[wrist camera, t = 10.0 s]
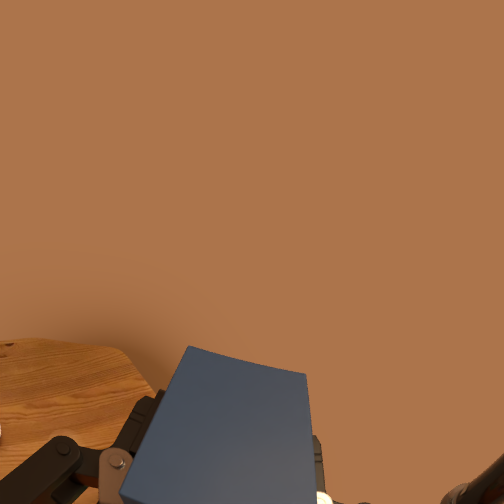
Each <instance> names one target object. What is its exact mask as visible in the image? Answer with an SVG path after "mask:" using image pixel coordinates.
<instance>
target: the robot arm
mask: <svg viewBox="0 0 504 504" xmlns="http://www.w3.org/2000/svg"><path fill="white" fill-rule="evenodd" d="M165 392H166V391H164V390H161V389H160V390H159V391H158V393H157V395H156V397H155V399H154V398H151V397H148V396H144V397H143V398H142V399H140V400H139V401H137V403H136V405H135V406H134V408H133V410H132V412H131V413H130V415H129V417H128V419H127V421H126V422H125V424H124V426H123V428H122V430H121V431H120V433H119V435H118V437H117V439H116V440H115V442H114V444H113V445H112V446H110V447H109V448H107V449H103V450H95V449H90V448H86V447H81V446H78V444H77V443H76V442H75V441H74V440H73V439H71V438H69V437H67V436H56V437H54V438H52V439H51V440H50V441H49V442H48V443H46V444H45V445H44V446H43V447H41V448H40V449H39V450H38V451H37V452H35V453H34V454H33V455H32V456H30V457H29V458H28V459H27V460H25V461H24V462H23V463H22V464H21V465H19V466H18V467H17V468H16V469H14V470H13V471H12V472H11V473H9V474H8V475H7V476H6V477H4V478H3V479H2V480H1V481H0V504H72V503H73V502H74V501H75V500H76V499H77V498H78V497H79V496H80V495H81V494H82V493H83V492H84V491H85V490H86V489H87V488H88V487H93V488H98V489H99V501H98V503H97V504H124V503H123V501H122V499H121V497H120V496H119V494H118V492H119V489H120V487H121V485H122V483H123V481H124V478H125V476H126V474H127V472H128V470H129V468H130V465H131V463H132V461H133V459H134V457H135V455H136V453H137V450H138V448H139V446H140V444H141V442H142V440H143V438H144V435H145V433H146V431H147V429H148V427H149V425H150V423H151V421H152V419H153V417H154V414H155V412H156V410H157V408H158V406H159V404H160V402H161V400H162V398H163V396H164V394H165ZM313 447H314V459H315V472H316V486H317V503H318V504H342V503H338V502H336V501H333V500H332V499H331V498H330V497H329V496H328V495H327V493H326V490H325V480H324V470H323V463H322V461H323V460H322V451H321V444H320V442H319V440H318V439H317V437H316V436H315V435H313ZM359 504H370V503H359ZM452 504H504V454H502V455H501V456H500V457H499V458H498V459H497V460H496V461H495V462H494V463H493V464H492V465H491V466H490V467H489V468H487V469H486V470H485V471H484V472H483V473H482V474H481V475H479V476H478V477H477V478H476V479H474V480H473V481H472V482H471V483H468V484H466V485H465V487H464V488H462V489H461V490H459V491H458V492H457V493H456V494H455V496H454V498H453V501H452Z"/></svg>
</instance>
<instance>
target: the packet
mask: <svg viewBox="0 0 504 504" xmlns="http://www.w3.org/2000/svg"><path fill="white" fill-rule="evenodd" d="M118 494H119V496H120V497H121V499H122V501H123V503H124V504H318V503H317V486H316V472H315V459H314V447H313V435H312V425H311V415H310V405H309V396H308V388H307V379H306V374H304V373H298V372H293V371H288V370H282V369H277V368H273V367H268V366H264V365H260V364H255V363H251V362H247V361H243V360H239V359H235V358H231V357H227V356H224V355H220V354H216V353H213V352H209V351H206V350H203V349H199V348H196V347H193V346H188V347H187V349H186V351H185V353H184V355H183V357H182V359H181V361H180V363H179V365H178V367H177V369H176V371H175V373H174V375H173V377H172V379H171V381H170V384H169V385H168V388H167V390H166V392H165V394H164V396H163V398H162V400H161V402H160V404H159V406H158V408H157V410H156V412H155V414H154V417H153V419H152V421H151V423H150V425H149V427H148V429H147V431H146V433H145V435H144V438H143V440H142V442H141V444H140V446H139V448H138V450H137V453H136V455H135V457H134V459H133V461H132V463H131V465H130V468H129V470H128V472H127V474H126V476H125V478H124V481H123V483H122V485H121V487H120V489H119V492H118Z"/></svg>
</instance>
